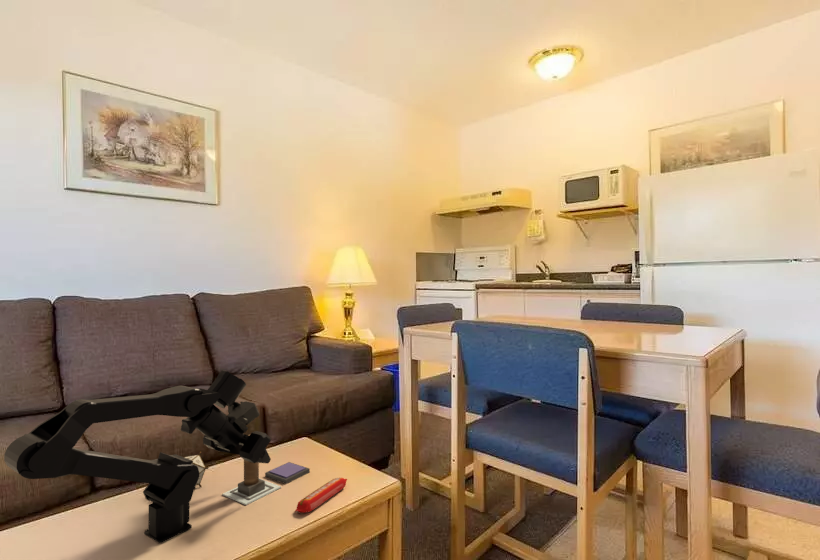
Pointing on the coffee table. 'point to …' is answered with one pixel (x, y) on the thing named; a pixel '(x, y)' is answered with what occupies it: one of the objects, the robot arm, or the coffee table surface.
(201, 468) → the game die
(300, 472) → the ink pad
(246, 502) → the print card
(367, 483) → the coffee table surface
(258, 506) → the coffee table surface
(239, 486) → the wooden handle on base
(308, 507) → the candy bar
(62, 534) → the coffee table surface
